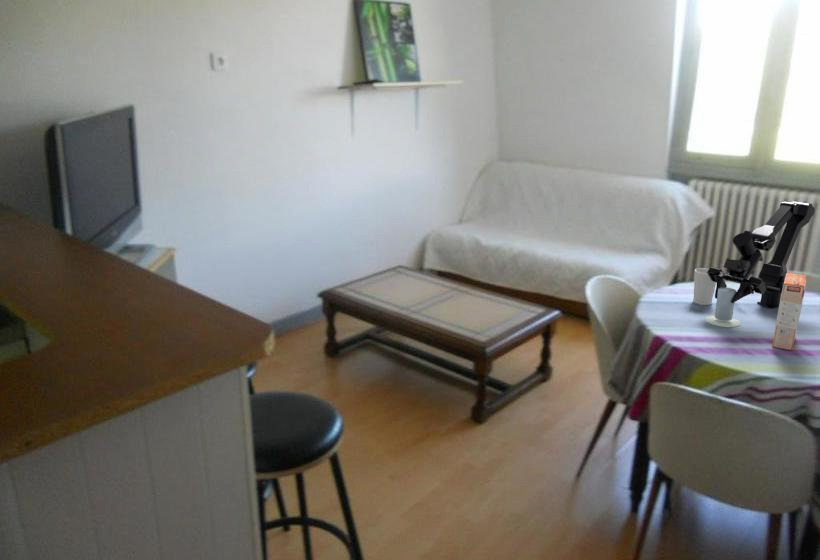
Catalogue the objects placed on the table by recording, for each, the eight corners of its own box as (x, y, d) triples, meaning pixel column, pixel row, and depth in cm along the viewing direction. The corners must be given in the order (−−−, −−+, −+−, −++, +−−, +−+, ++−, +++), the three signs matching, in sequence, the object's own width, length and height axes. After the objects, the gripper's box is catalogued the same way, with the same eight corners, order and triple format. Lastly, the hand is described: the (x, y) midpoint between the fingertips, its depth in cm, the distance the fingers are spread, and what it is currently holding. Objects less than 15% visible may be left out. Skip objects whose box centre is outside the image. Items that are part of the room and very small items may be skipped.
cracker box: (793, 351, 198) (805, 285, 192) (771, 347, 201) (782, 282, 195) (796, 337, 210) (807, 274, 204) (774, 333, 213) (785, 271, 207)
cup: (709, 299, 247) (714, 268, 243) (717, 306, 239) (721, 274, 236) (687, 298, 247) (691, 267, 244) (694, 305, 240) (698, 273, 236)
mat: (723, 314, 230) (723, 314, 230) (747, 325, 220) (748, 324, 220) (697, 318, 227) (697, 317, 227) (721, 328, 217) (721, 328, 217)
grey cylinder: (723, 314, 227) (727, 286, 224) (735, 319, 222) (740, 291, 219) (710, 316, 225) (714, 288, 222) (722, 321, 220) (726, 293, 217)
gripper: (713, 244, 226) (690, 280, 223) (767, 255, 211) (743, 294, 208) (723, 262, 232) (701, 297, 230) (776, 275, 218) (753, 312, 215)
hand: (723, 300), depth 221 cm, fingers closed on grey cylinder, 5 cm apart
